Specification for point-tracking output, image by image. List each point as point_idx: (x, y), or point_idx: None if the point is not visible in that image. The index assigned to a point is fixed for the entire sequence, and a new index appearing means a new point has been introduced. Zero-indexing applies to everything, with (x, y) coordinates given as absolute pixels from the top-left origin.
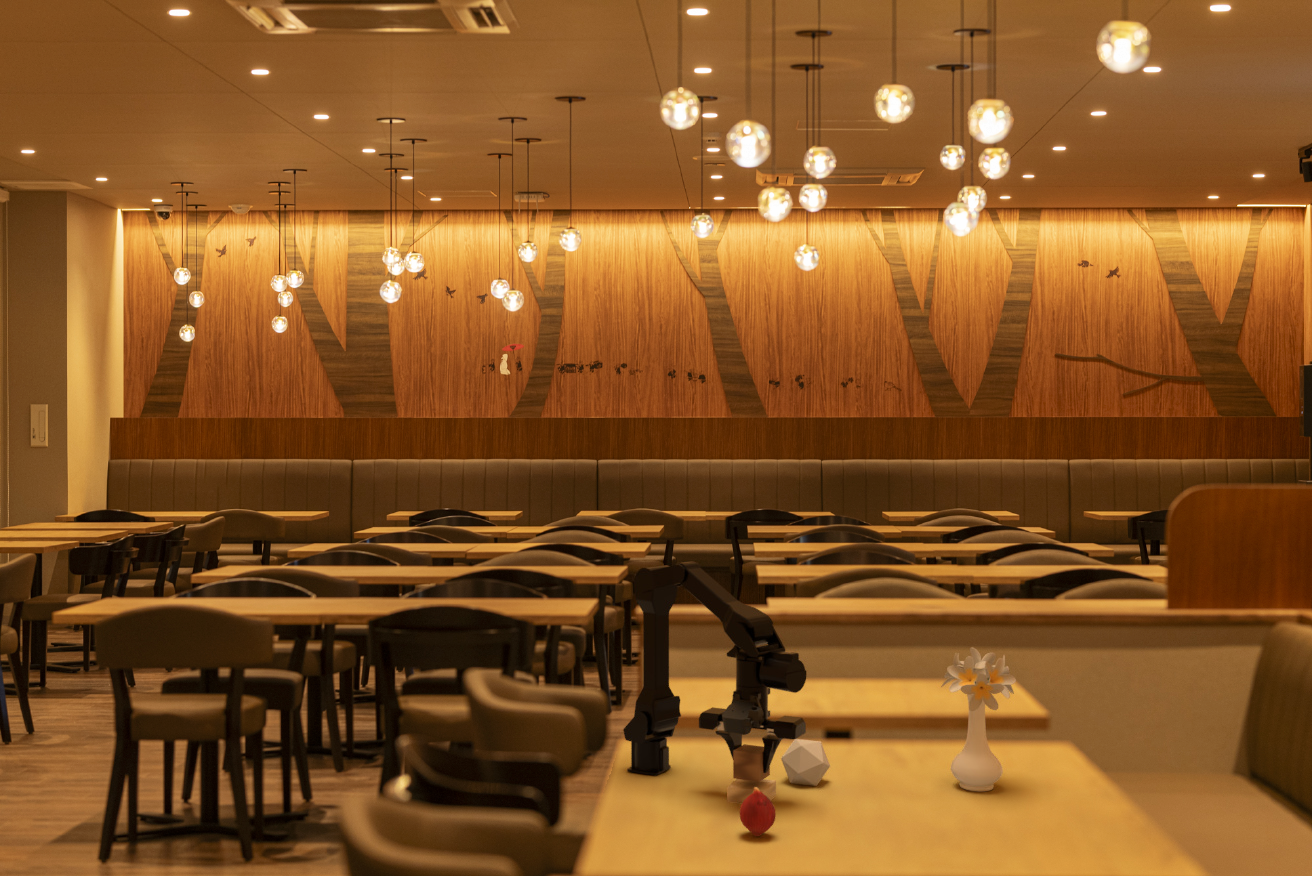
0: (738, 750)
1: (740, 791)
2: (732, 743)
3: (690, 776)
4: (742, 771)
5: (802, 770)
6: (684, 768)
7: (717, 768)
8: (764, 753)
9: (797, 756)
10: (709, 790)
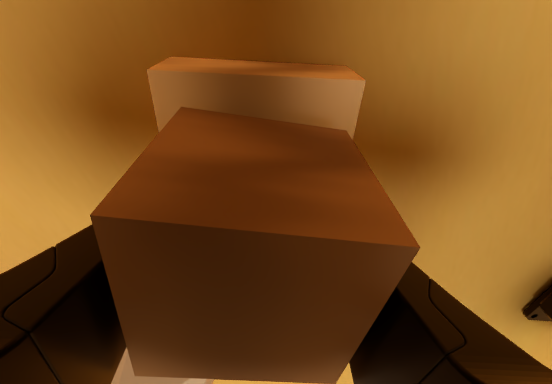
0: (363, 261)
1: (289, 72)
2: (454, 345)
3: (474, 278)
4: (293, 141)
5: None
6: (482, 318)
7: None
8: (84, 266)
9: (134, 375)
10: (423, 184)
